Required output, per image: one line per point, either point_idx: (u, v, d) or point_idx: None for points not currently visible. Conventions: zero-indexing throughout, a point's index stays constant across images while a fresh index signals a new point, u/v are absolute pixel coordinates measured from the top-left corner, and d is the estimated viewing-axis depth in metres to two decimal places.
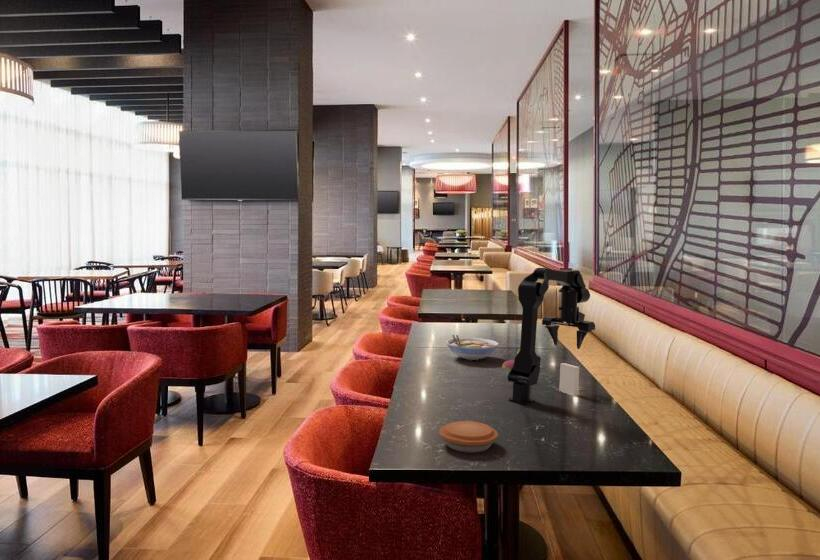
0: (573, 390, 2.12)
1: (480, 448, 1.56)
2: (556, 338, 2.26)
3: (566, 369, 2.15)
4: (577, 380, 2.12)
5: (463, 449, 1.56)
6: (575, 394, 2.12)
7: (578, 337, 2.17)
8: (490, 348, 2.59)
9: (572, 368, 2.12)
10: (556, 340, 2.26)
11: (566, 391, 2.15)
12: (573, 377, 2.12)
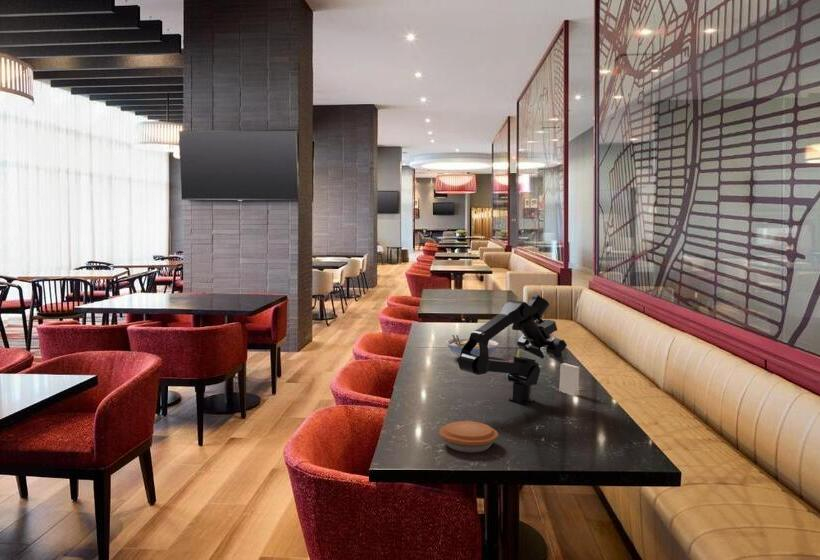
0: (573, 390, 2.12)
1: (480, 448, 1.56)
2: (540, 353, 2.13)
3: (566, 369, 2.15)
4: (577, 380, 2.12)
5: (463, 449, 1.56)
6: (575, 394, 2.12)
7: (554, 359, 2.03)
8: (490, 348, 2.59)
9: (572, 368, 2.12)
10: (541, 354, 2.13)
11: (566, 391, 2.15)
12: (573, 377, 2.12)
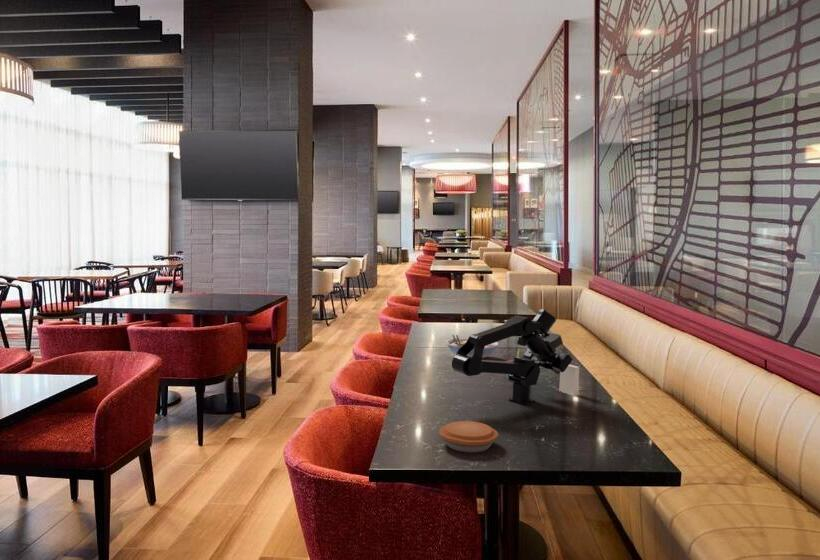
0: (573, 390, 2.12)
1: (480, 448, 1.56)
2: None
3: (566, 369, 2.15)
4: (577, 380, 2.12)
5: (463, 449, 1.56)
6: (575, 394, 2.12)
7: (551, 370, 2.09)
8: (490, 348, 2.59)
9: (572, 368, 2.12)
10: (556, 370, 2.11)
11: (566, 391, 2.15)
12: (573, 377, 2.12)
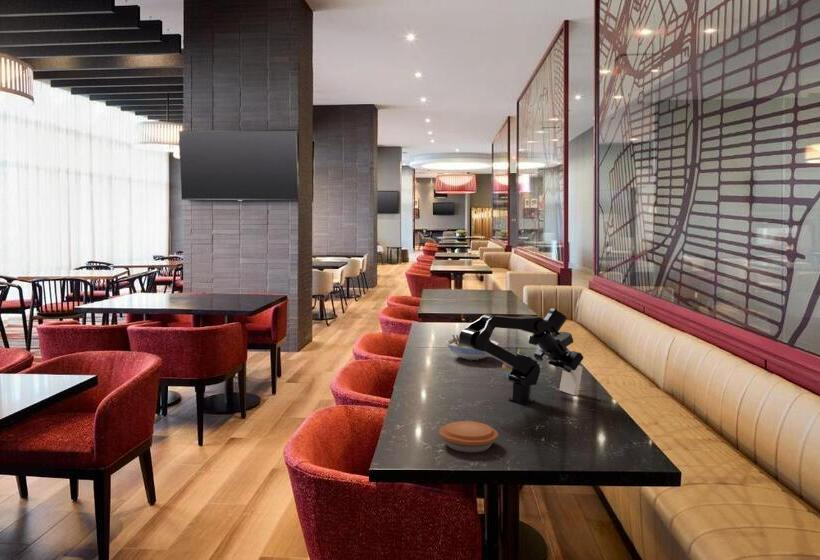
0: (574, 389, 2.12)
1: (480, 448, 1.56)
2: None
3: None
4: (579, 380, 2.13)
5: (463, 449, 1.56)
6: (575, 393, 2.12)
7: (562, 368, 2.11)
8: None
9: None
10: (567, 368, 2.14)
11: (566, 390, 2.15)
12: (575, 376, 2.12)
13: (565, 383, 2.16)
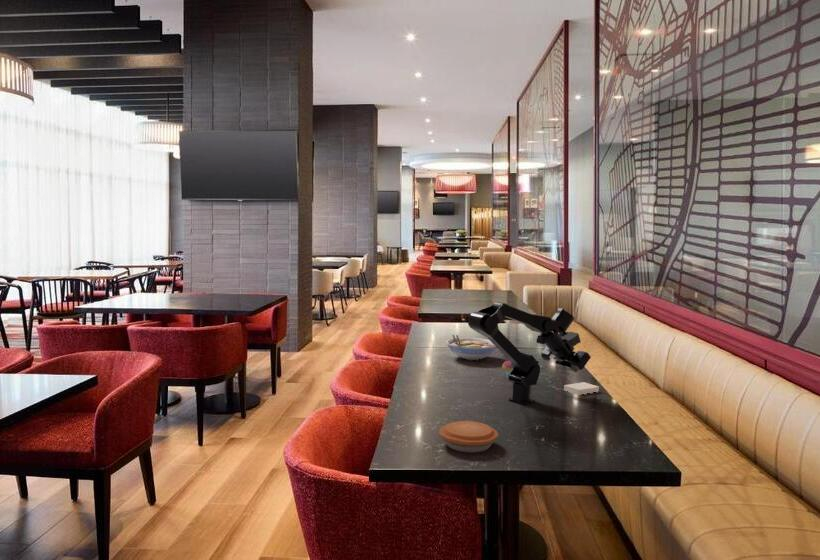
0: (582, 389, 2.14)
1: (480, 448, 1.56)
2: None
3: (587, 384, 2.21)
4: (589, 392, 2.16)
5: (463, 449, 1.56)
6: (579, 391, 2.13)
7: (569, 368, 2.13)
8: (490, 348, 2.59)
9: (595, 386, 2.19)
10: None
11: (572, 387, 2.16)
12: (590, 387, 2.17)
13: (575, 385, 2.18)
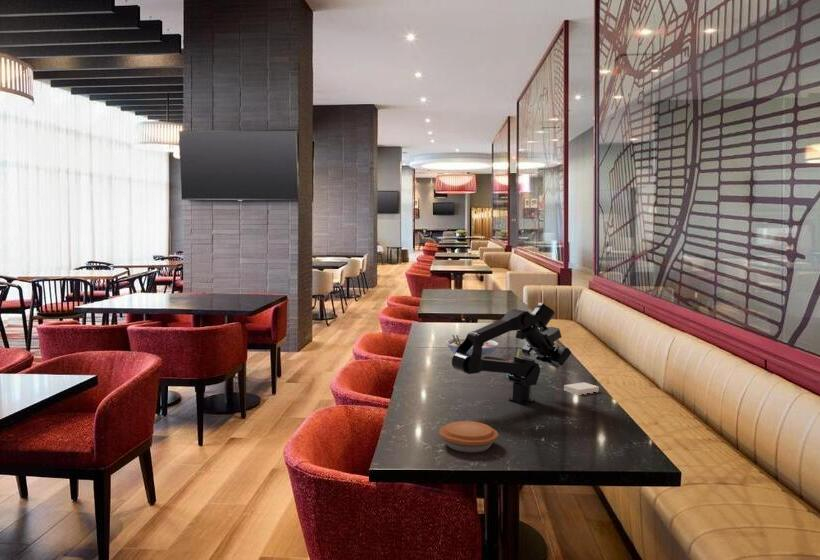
0: (582, 388, 2.14)
1: (480, 448, 1.56)
2: None
3: (587, 384, 2.21)
4: (589, 392, 2.16)
5: (463, 449, 1.56)
6: (579, 391, 2.13)
7: (550, 364, 2.08)
8: (490, 348, 2.59)
9: (595, 386, 2.19)
10: None
11: (572, 387, 2.16)
12: (590, 387, 2.17)
13: (574, 385, 2.18)
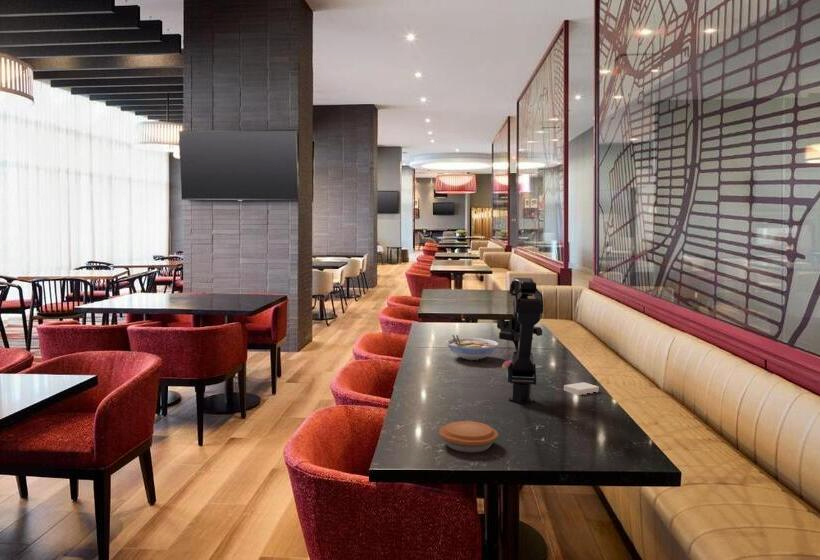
0: (581, 389, 2.14)
1: (480, 448, 1.56)
2: None
3: (587, 384, 2.21)
4: (589, 392, 2.16)
5: (463, 449, 1.56)
6: (579, 391, 2.13)
7: None
8: (490, 348, 2.59)
9: (595, 386, 2.19)
10: None
11: (572, 387, 2.16)
12: (590, 387, 2.17)
13: (574, 385, 2.18)
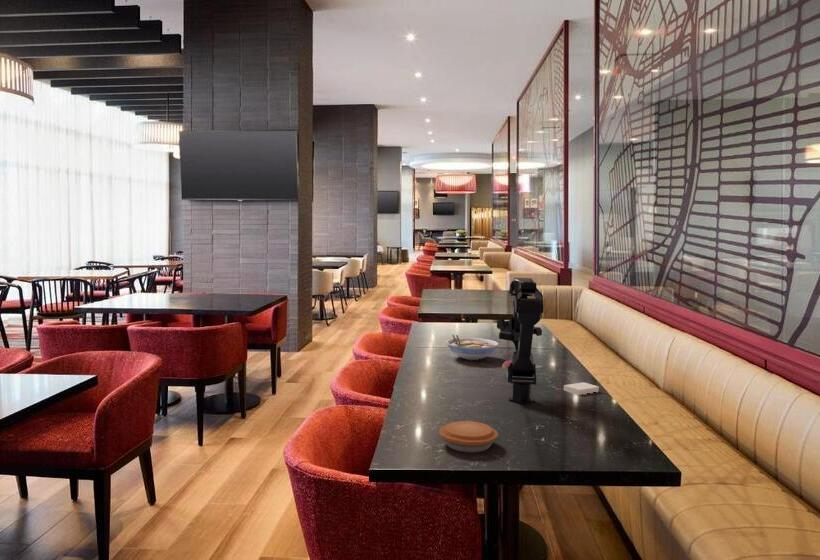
0: (581, 389, 2.14)
1: (480, 448, 1.56)
2: None
3: (587, 384, 2.21)
4: (589, 392, 2.16)
5: (463, 449, 1.56)
6: (579, 391, 2.13)
7: None
8: (490, 348, 2.59)
9: (594, 386, 2.19)
10: None
11: (572, 387, 2.16)
12: (590, 387, 2.16)
13: (574, 385, 2.18)
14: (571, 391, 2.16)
